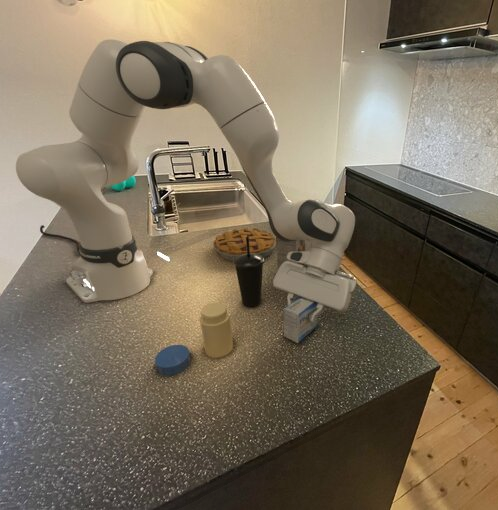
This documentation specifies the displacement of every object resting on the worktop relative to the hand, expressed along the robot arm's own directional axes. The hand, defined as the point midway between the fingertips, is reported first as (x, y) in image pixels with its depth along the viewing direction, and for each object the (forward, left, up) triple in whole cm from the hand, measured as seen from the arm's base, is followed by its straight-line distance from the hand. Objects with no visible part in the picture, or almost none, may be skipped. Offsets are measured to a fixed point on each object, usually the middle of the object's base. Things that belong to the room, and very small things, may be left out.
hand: (299, 317), depth 73 cm
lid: (-18, -21, -3) cm, 28 cm away
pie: (-41, +28, -5) cm, 50 cm away
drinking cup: (-18, +4, -5) cm, 19 cm away
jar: (-13, -13, -5) cm, 19 cm away
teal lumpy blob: (-141, +47, -5) cm, 148 cm away
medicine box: (0, +1, -5) cm, 5 cm away
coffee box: (-17, +22, -5) cm, 28 cm away
